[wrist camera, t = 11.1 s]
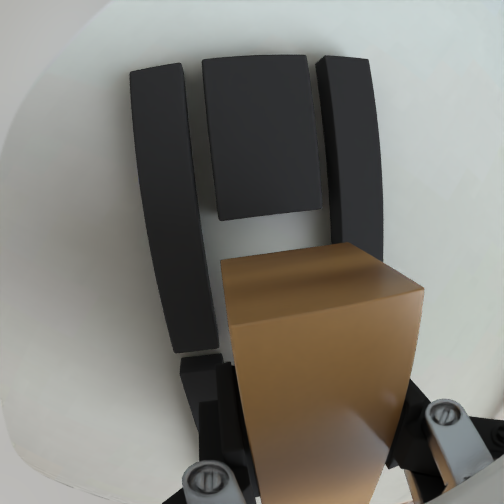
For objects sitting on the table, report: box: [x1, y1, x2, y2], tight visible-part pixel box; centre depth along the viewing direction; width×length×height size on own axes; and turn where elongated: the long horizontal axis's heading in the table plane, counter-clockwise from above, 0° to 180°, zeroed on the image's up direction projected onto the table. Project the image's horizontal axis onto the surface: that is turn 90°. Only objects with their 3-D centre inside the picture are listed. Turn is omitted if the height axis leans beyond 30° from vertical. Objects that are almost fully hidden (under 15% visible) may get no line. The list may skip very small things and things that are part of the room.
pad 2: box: [129, 55, 383, 353], centre depth 11 cm, size 11×9×1 cm
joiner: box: [220, 242, 424, 504], centre depth 9 cm, size 10×4×4 cm, turn 6°
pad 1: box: [180, 353, 224, 433], centre depth 15 cm, size 11×9×1 cm
